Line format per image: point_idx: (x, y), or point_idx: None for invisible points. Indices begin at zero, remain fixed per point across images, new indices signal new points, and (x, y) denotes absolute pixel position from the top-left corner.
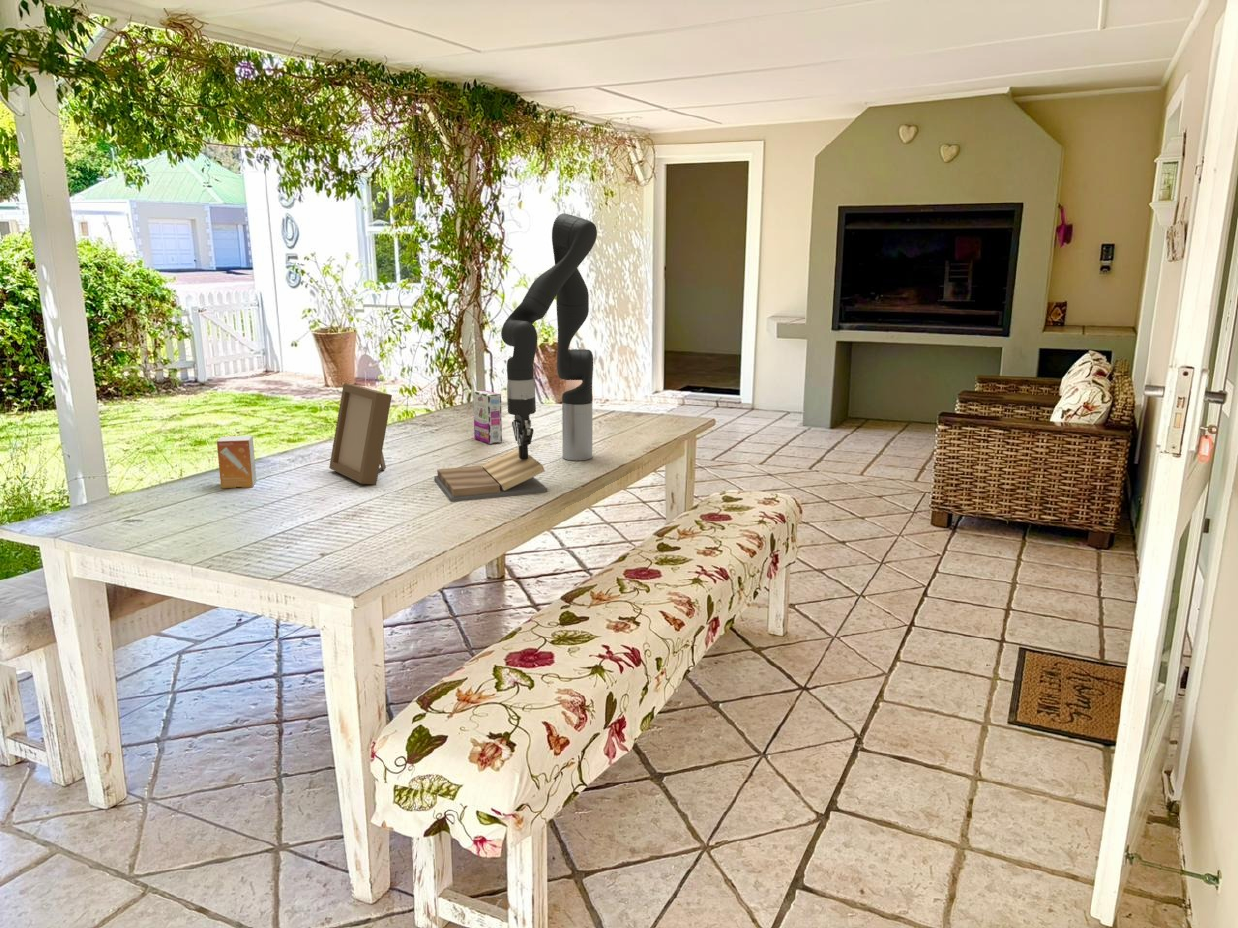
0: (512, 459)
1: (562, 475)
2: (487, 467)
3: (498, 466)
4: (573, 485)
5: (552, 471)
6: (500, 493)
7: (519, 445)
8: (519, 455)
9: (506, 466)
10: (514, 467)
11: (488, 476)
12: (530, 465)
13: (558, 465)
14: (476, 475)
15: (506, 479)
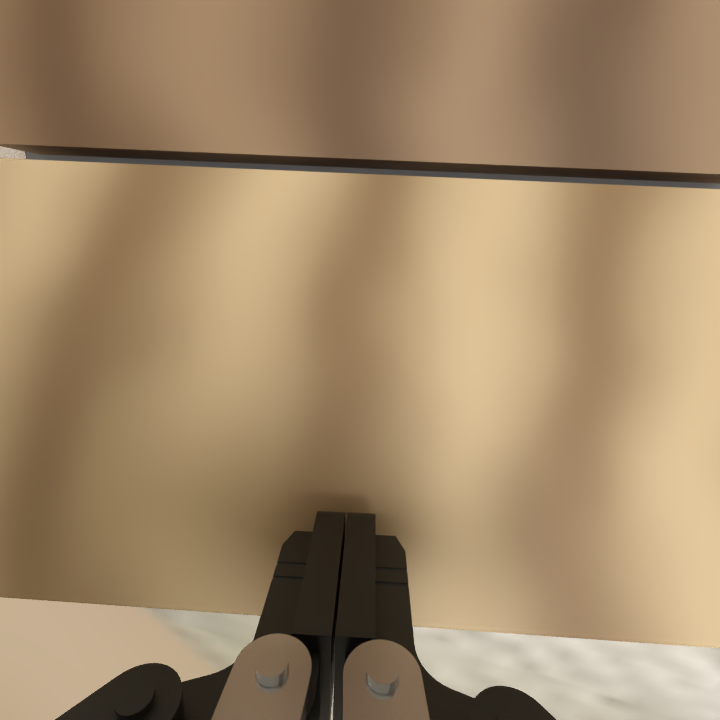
0: (508, 461)
1: (428, 658)
2: (626, 214)
3: (498, 296)
4: (201, 632)
5: (543, 647)
6: (28, 155)
7: (292, 641)
8: (348, 530)
9: (387, 349)
10: (248, 391)
11: (322, 132)
12: (83, 512)
13: (655, 713)
14: (407, 13)
15: (41, 231)
